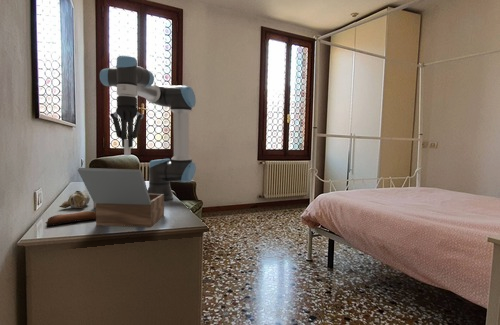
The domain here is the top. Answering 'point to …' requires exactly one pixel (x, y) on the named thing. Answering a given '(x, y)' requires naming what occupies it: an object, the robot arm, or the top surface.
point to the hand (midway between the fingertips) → (127, 155)
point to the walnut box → (131, 213)
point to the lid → (115, 186)
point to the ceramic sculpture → (77, 200)
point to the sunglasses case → (70, 218)
